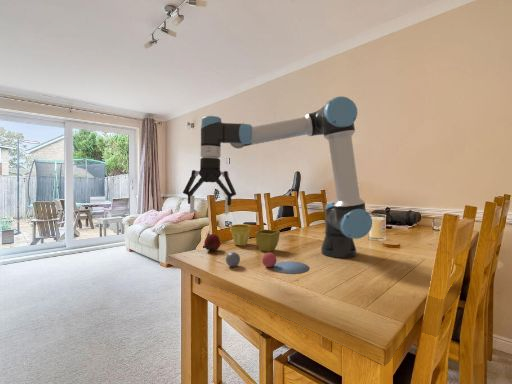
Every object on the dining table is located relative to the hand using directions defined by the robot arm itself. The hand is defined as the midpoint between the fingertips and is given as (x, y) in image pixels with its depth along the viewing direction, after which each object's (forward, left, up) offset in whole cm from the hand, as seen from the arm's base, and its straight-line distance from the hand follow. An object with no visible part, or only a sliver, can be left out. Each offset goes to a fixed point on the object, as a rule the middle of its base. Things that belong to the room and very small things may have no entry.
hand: (209, 213), depth 103 cm
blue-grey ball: (-9, 0, -18) cm, 20 cm away
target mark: (-31, 0, -21) cm, 37 cm away
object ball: (-23, 0, -18) cm, 29 cm away
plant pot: (-8, -35, -21) cm, 41 cm away
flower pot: (-22, -24, -21) cm, 38 cm away
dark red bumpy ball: (+4, -22, -21) cm, 30 cm away
